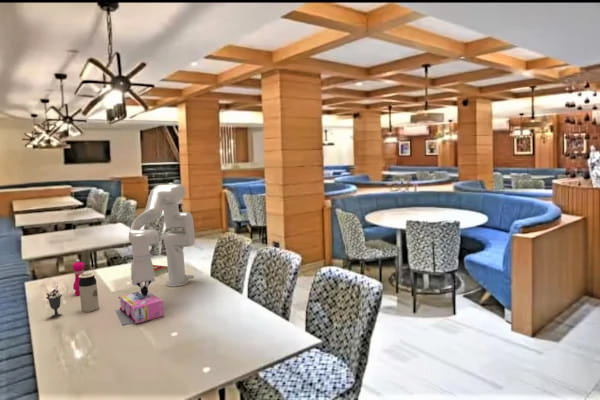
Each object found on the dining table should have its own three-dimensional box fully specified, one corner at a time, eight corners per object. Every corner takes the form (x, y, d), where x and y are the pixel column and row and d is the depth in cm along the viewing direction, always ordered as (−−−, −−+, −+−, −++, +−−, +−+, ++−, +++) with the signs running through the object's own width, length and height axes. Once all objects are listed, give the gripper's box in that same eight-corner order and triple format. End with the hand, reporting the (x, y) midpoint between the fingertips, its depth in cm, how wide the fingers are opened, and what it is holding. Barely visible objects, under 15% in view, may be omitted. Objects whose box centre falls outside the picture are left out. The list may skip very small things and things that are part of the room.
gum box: (146, 303, 226) (118, 310, 218) (144, 288, 225) (117, 294, 217) (164, 316, 208) (135, 324, 199) (162, 300, 207) (133, 307, 198)
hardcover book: (144, 269, 293) (143, 263, 293) (168, 272, 285) (168, 265, 284) (130, 274, 283) (130, 268, 282) (155, 277, 274) (155, 270, 273)
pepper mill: (77, 292, 249) (73, 258, 247) (90, 291, 250) (86, 257, 247) (71, 296, 242) (68, 261, 240) (85, 295, 243) (81, 260, 240)
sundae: (67, 314, 216) (64, 284, 214) (56, 319, 210) (52, 289, 208) (57, 313, 218) (54, 283, 216) (45, 318, 212) (42, 288, 210)
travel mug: (78, 311, 219) (74, 276, 217) (90, 305, 226) (87, 272, 224) (90, 313, 216) (86, 277, 214) (102, 307, 224) (99, 273, 221)
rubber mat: (148, 303, 226) (148, 303, 226) (158, 317, 207) (158, 316, 207) (115, 310, 218) (115, 310, 218) (122, 325, 199) (122, 324, 199)
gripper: (155, 254, 218) (158, 289, 221) (123, 259, 211) (127, 296, 213) (159, 257, 212) (162, 293, 214) (126, 262, 205) (129, 300, 207)
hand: (144, 294), depth 214 cm, fingers closed
